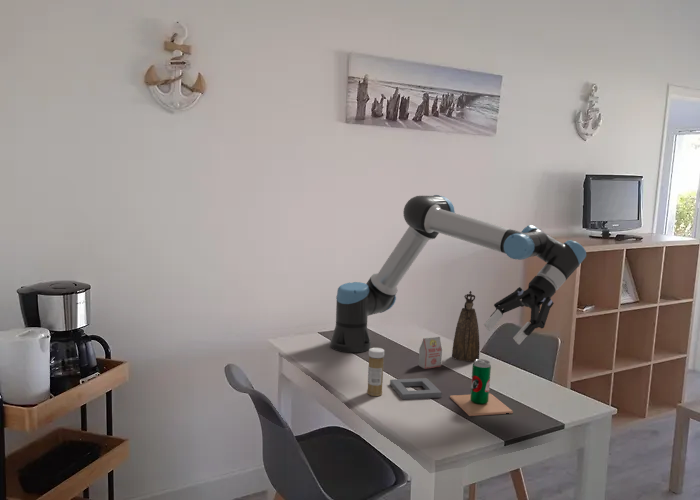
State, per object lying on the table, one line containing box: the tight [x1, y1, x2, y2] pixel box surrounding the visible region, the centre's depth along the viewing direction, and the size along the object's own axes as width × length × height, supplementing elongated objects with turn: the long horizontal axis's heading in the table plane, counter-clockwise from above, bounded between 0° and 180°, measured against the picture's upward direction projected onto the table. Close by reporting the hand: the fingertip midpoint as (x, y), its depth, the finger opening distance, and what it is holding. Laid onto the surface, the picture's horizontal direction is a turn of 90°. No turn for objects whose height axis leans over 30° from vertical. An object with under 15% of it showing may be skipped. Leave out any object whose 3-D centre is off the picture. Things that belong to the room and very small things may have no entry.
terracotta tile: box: [449, 392, 514, 417], centre depth 163 cm, size 13×13×1 cm
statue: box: [451, 290, 480, 362], centre depth 204 cm, size 9×8×25 cm
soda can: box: [470, 358, 492, 405], centre depth 163 cm, size 5×5×12 cm
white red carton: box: [418, 336, 443, 370], centre depth 195 cm, size 4×7×10 cm, turn 118°
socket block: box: [389, 377, 443, 400], centre depth 172 cm, size 12×12×2 cm
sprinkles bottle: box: [366, 347, 385, 397], centre depth 167 cm, size 5×5×14 cm
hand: (500, 334), depth 168 cm, fingers open, 13 cm apart
